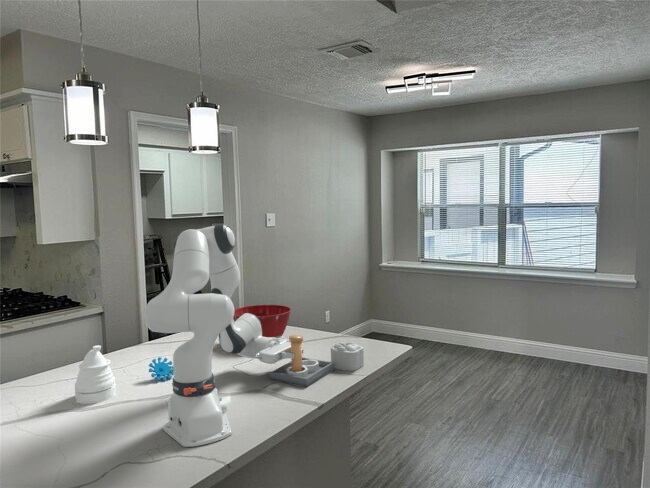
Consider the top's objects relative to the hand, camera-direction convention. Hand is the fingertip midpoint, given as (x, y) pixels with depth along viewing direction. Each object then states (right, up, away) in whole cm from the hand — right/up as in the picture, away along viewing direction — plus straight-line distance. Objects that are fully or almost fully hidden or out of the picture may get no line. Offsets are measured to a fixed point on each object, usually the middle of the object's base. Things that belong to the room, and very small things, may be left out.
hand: (298, 353), depth 179 cm
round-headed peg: (-1, -7, +1) cm, 7 cm away
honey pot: (-70, -12, -11) cm, 72 cm away
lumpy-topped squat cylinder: (+18, -8, +15) cm, 25 cm away
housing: (+2, -9, +5) cm, 10 cm away
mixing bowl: (-20, -6, +52) cm, 56 cm away
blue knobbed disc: (-52, -11, +5) cm, 53 cm away
